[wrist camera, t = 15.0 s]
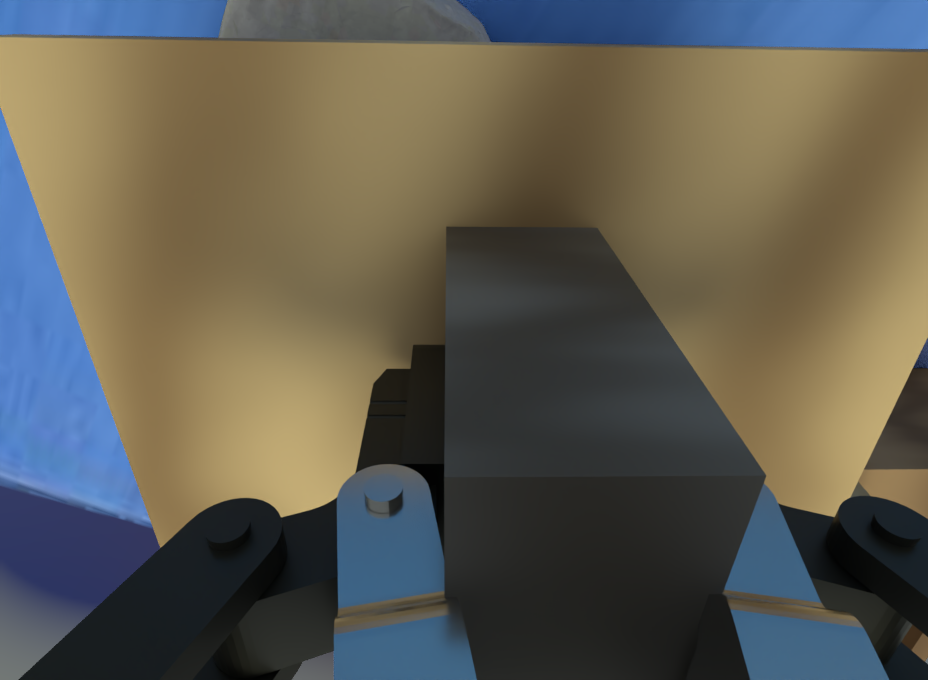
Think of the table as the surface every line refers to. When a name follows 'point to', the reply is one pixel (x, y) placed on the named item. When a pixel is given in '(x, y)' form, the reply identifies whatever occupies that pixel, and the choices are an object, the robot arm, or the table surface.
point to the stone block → (352, 20)
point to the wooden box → (904, 465)
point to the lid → (496, 293)
